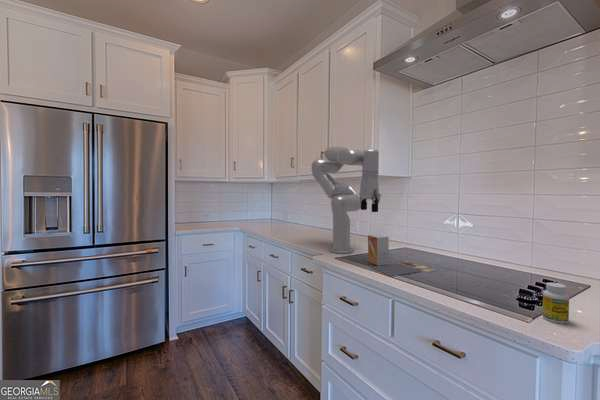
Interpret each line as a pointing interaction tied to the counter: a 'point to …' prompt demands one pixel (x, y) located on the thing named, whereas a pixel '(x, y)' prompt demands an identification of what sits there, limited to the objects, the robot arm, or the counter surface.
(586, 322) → the counter surface
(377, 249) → the small box
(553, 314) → the supplement bottle
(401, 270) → the mat
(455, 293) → the counter surface
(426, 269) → the turner
